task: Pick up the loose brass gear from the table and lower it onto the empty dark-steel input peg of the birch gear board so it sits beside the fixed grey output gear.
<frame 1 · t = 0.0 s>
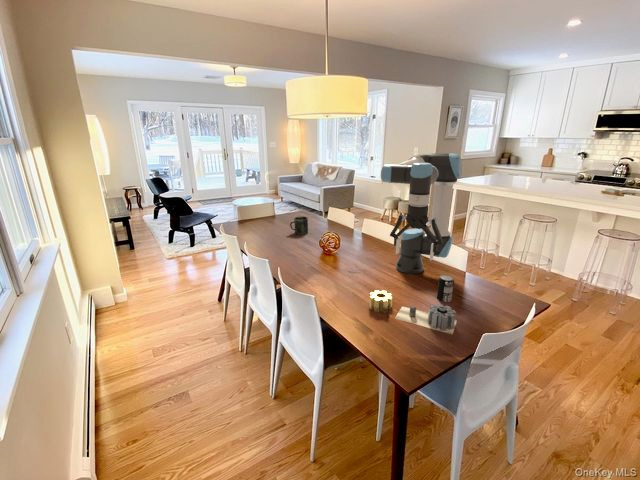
hand: (413, 256, 128), 28 cm above the table, fingers open, 13 cm apart
output gear: (440, 323, 130), resting on gear board
brass gear: (380, 307, 145), on the table
mug: (299, 233, 250), on the table
gear board: (425, 321, 133), on the table
beverage can: (443, 300, 149), on the table
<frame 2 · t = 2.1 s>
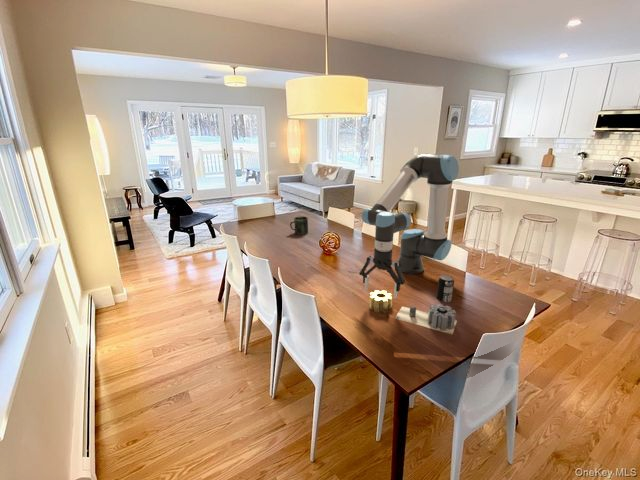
hand: (380, 293, 142), 7 cm above the table, fingers open, 13 cm apart
nothing on the table moved.
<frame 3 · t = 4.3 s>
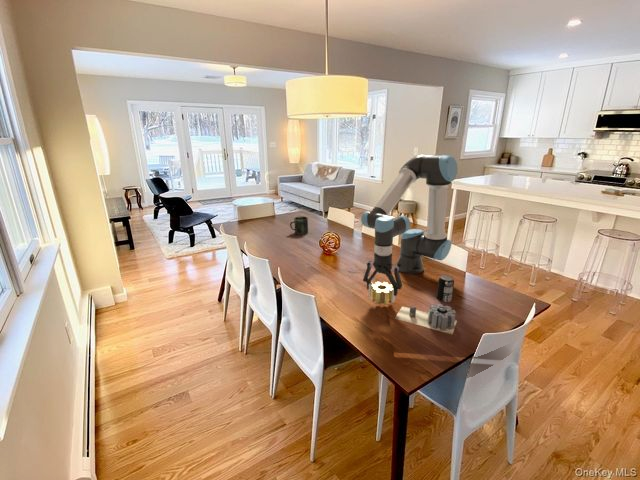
hand: (381, 298, 144), 4 cm above the table, fingers closed on brass gear, 10 cm apart
brass gear: (381, 298, 144), point 4 cm above the table, touching gripper
everything else where it was.
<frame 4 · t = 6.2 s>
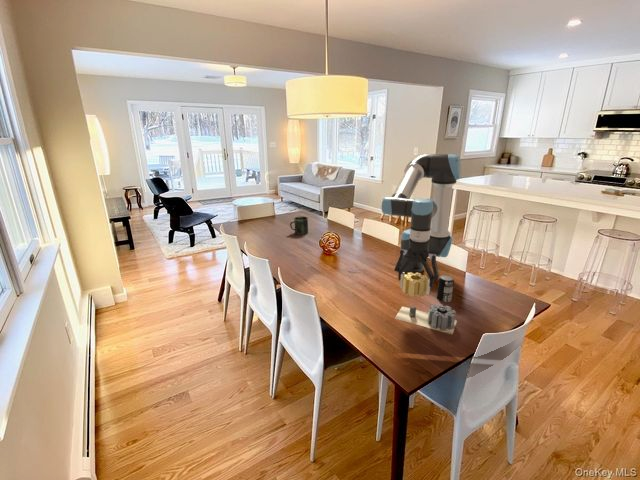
hand: (414, 290, 131), 14 cm above the table, fingers closed on brass gear, 10 cm apart
brass gear: (414, 290, 131), point 13 cm above the table, touching gripper
everything else where it was.
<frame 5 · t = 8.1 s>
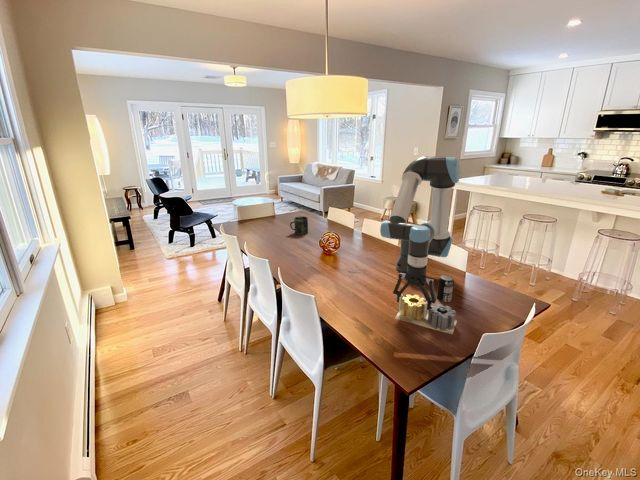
hand: (412, 312, 135), 3 cm above the table, fingers closed on brass gear, 10 cm apart
brass gear: (412, 312, 135), point 3 cm above the table, touching gripper
everything else where it was.
when the fingers open (3 cm above the table, at t = 8.1 s): brass gear drops 1 cm, resting on gear board.
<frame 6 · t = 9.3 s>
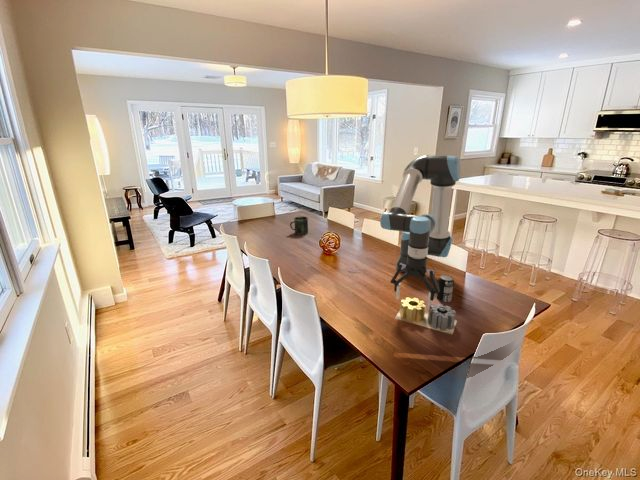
hand: (412, 302, 134), 7 cm above the table, fingers open, 12 cm apart
brass gear: (412, 315, 135), point 1 cm above the table, touching gear board
everything else where it was.
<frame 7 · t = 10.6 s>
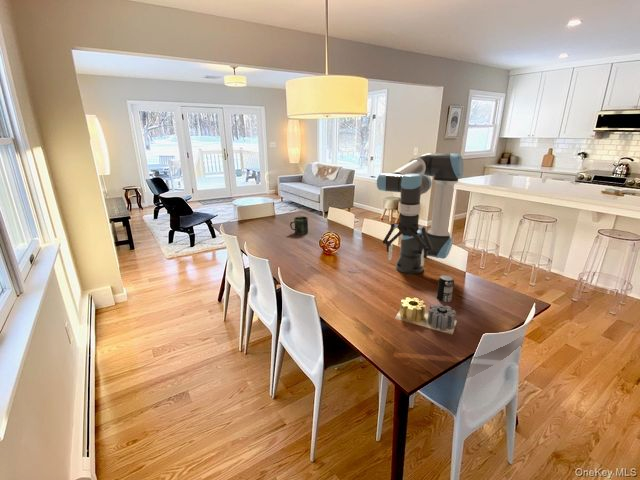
hand: (405, 261, 134), 23 cm above the table, fingers open, 13 cm apart
nothing on the table moved.
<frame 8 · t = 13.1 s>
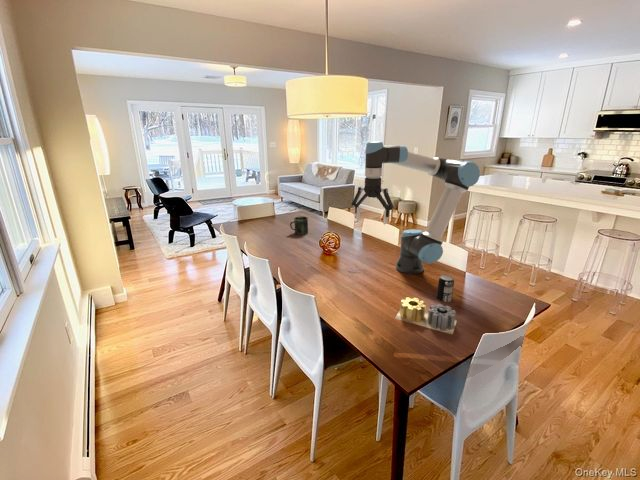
hand: (371, 221, 152), 35 cm above the table, fingers open, 13 cm apart
nothing on the table moved.
at the end: brass gear 0.1 cm from the target spot on the gear board, point 1.2 cm above the gear board's base; the gripper is holding nothing; brass gear tilted 0° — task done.
